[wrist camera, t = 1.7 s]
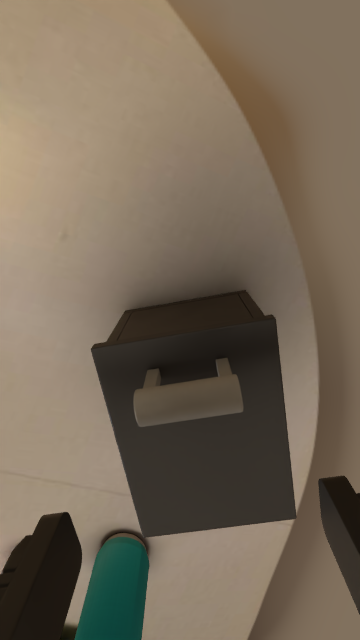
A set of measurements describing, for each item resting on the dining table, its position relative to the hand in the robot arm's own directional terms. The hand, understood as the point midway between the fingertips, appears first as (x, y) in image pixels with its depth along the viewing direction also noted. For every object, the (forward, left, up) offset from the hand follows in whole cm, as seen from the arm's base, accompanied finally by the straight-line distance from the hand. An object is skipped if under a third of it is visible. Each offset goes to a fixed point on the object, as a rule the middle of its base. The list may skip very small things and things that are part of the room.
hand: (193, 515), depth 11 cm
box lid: (+4, 0, -10) cm, 11 cm away
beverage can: (+25, -12, -20) cm, 34 cm away
